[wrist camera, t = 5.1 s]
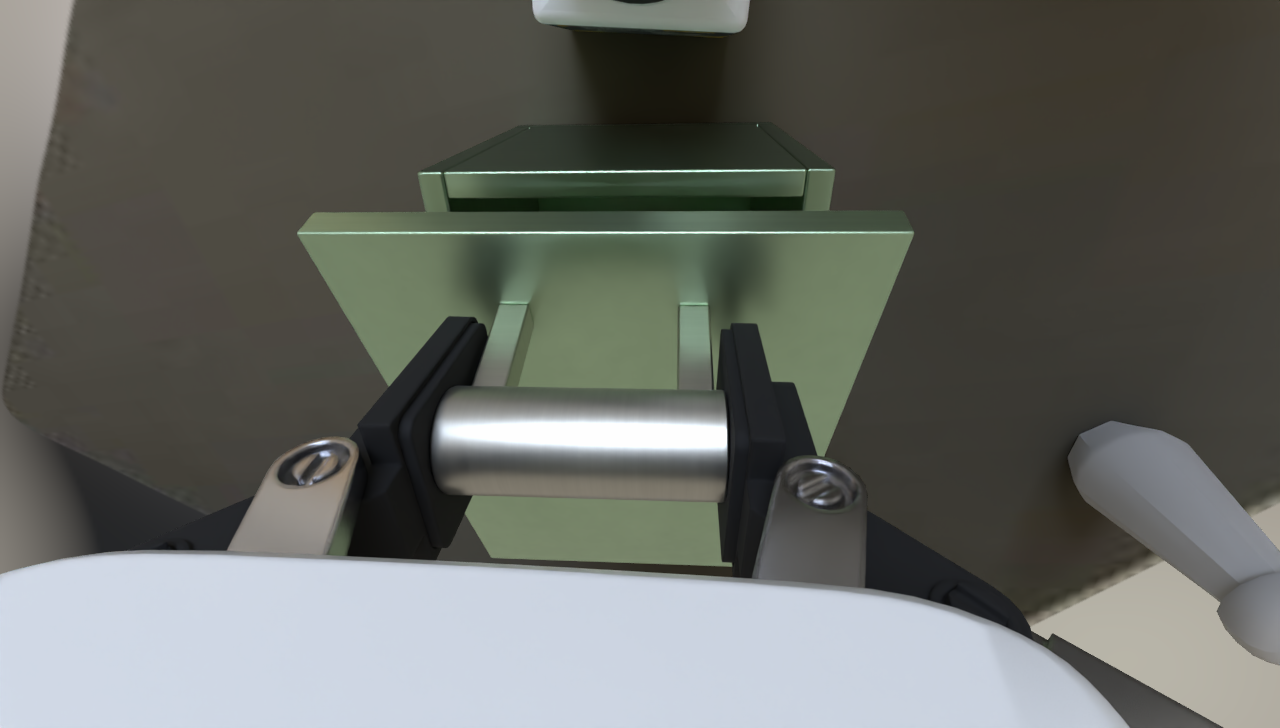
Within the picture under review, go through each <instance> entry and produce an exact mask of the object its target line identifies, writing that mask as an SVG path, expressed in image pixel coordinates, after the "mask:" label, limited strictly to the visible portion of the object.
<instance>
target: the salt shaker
mask: <svg viewBox="0 0 1280 728" xmlns="http://www.w3.org/2000/svg"><path fill="white" fill-rule="evenodd" d="M1067 458H1068V462H1069V466H1070V470H1071V474H1072V478H1073V481H1074V483H1075V485H1076V487H1077V489H1078V491H1079V493H1080V494H1081V496H1082V497H1083V499H1084V500H1085V502H1087V503H1088V504H1089V505H1091V506H1092V507H1093V508H1095V509H1096V510H1098V511H1099V512H1100V513H1102V514H1103V515H1104V516H1106V517H1107V518H1108V519H1110V520H1111V521H1112V522H1114V523H1115V524H1116V525H1118V526H1119V527H1120V528H1122V529H1123V530H1124V531H1126V532H1127V533H1128V534H1130V535H1131V536H1132V537H1134V538H1135V539H1136V540H1138V541H1139V542H1141V543H1142V544H1143V545H1145V546H1146V547H1147V548H1149V549H1150V550H1151V551H1153V552H1154V553H1155V554H1157V555H1158V556H1159V557H1161V558H1162V559H1163V560H1165V561H1166V562H1167V563H1169V564H1170V565H1172V566H1173V567H1174V568H1176V569H1177V570H1178V571H1179V572H1181V573H1182V574H1184V575H1185V576H1186V577H1188V578H1189V579H1190V580H1192V581H1193V582H1194V583H1196V584H1197V585H1198V586H1200V587H1201V588H1202V589H1204V590H1205V591H1206V592H1208V593H1209V594H1210V595H1212V596H1213V597H1214V598H1215V599H1217V600H1218V601H1219V602H1221V603H1220V606H1219V608H1218V610H1217V612H1218V615H1219V617H1220V619H1221V621H1222V623H1223V625H1224V627H1225V629H1226V630H1227V631H1228V632H1229V634H1230V635H1231V636H1232V637H1233V638H1234V639H1235V641H1236V642H1237V643H1239V644H1240V645H1241V646H1242V647H1243V648H1245V649H1246V650H1247V651H1248V652H1250V653H1251V654H1252V655H1253V656H1256V657H1258V658H1260V659H1262V660H1264V661H1267V662H1269V663H1273V664H1276V665H1280V551H1279V550H1278V549H1277V548H1276V547H1275V545H1274V544H1273V543H1272V542H1271V541H1270V539H1269V538H1268V537H1267V536H1266V535H1265V533H1264V532H1263V531H1262V530H1261V529H1260V528H1259V526H1257V524H1256V523H1255V522H1254V521H1253V519H1252V518H1251V517H1250V516H1249V515H1248V514H1247V512H1246V511H1245V510H1244V509H1243V508H1242V507H1241V505H1240V504H1239V503H1238V502H1237V501H1236V500H1235V498H1234V497H1233V496H1232V495H1231V494H1230V493H1229V491H1228V490H1227V489H1226V488H1225V487H1224V486H1223V484H1222V483H1221V482H1220V481H1219V480H1218V479H1217V477H1216V476H1215V475H1214V474H1213V473H1212V472H1211V470H1210V469H1209V468H1208V467H1207V466H1206V465H1205V463H1204V462H1203V461H1202V460H1201V459H1200V458H1199V456H1198V455H1197V454H1196V453H1195V452H1194V451H1193V449H1192V448H1191V447H1190V446H1189V445H1188V444H1187V443H1185V442H1183V441H1182V440H1180V439H1178V438H1176V437H1174V436H1171V435H1169V434H1167V433H1165V432H1163V431H1161V430H1156V429H1150V428H1145V427H1140V426H1134V425H1129V424H1124V423H1120V422H1116V421H1109V422H1107V423H1104V424H1102V425H1100V426H1098V427H1095V428H1093V429H1091V430H1088V431H1086V432H1084V433H1082V434H1079V436H1078V438H1077V440H1076V442H1075V444H1074V446H1073V447H1072V449H1071V451H1070V453H1069V455H1068V457H1067Z"/></svg>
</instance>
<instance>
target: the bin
mask: <svg viewBox="0 0 1280 728" xmlns="http://www.w3.org/2000/svg"><path fill="white" fill-rule="evenodd" d="M418 178H419V183H420V188H421V192H422V197H423V201H424V206H425V211H426V212H593V211H829V209H830V203H831V197H832V190H833V184H834V178H835V168H833V167H832V166H831V165H829V164H828V163H826V162H825V161H824V160H822V159H821V158H820V157H818V156H817V155H815V154H814V153H813V152H811V151H810V150H809V149H807V148H806V147H804V146H803V145H802V144H800V143H799V142H798V141H796V140H795V139H793V138H792V137H791V136H789V135H788V134H787V133H785V132H784V131H782V130H781V129H780V128H778V127H777V126H776V125H774V124H773V123H771V122H757V123H681V124H605V125H529V126H517V127H515V128H513V129H511V130H509V131H507V132H504V133H502V134H500V135H498V136H496V137H494V138H491V139H489V140H487V141H485V142H483V143H480V144H478V145H476V146H474V147H472V148H470V149H467V150H465V151H463V152H461V153H459V154H456V155H454V156H452V157H450V158H448V159H446V160H443V161H441V162H439V163H437V164H435V165H432V166H430V167H428V168H426V169H424V170H422V171H419V172H418Z"/></svg>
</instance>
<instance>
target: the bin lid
mask: <svg viewBox="0 0 1280 728" xmlns="http://www.w3.org/2000/svg"><path fill="white" fill-rule="evenodd" d="M297 234H298V237H299V238H300V240H301V242H302V243H303V245H304V247H305V248H306V250H307V252H308V253H309V255H310V257H311V258H312V260H313V262H314V263H315V265H316V267H317V268H318V270H319V272H320V273H321V275H322V277H323V278H324V280H325V282H326V283H327V285H328V287H329V288H330V290H331V292H332V293H333V295H334V297H335V298H336V300H337V302H338V303H339V305H340V307H341V308H342V310H343V312H344V313H345V315H346V317H347V318H348V320H349V322H350V323H351V325H352V326H353V328H354V330H355V331H356V333H357V335H358V336H359V338H360V340H361V341H362V343H363V345H364V346H365V348H366V350H367V351H368V353H369V355H370V356H371V358H372V360H373V361H374V363H375V365H376V366H377V368H378V370H379V371H380V373H381V375H382V376H383V378H384V380H385V381H386V383H387V385H388V386H390V385H391V384H392V383H393V381H394V380H395V379H396V378H397V377H398V376H399V374H400V373H401V372H402V371H403V370H404V368H405V367H406V366H407V365H408V364H409V362H410V361H411V360H412V359H413V358H414V356H415V355H416V354H417V353H418V352H419V350H420V349H421V348H422V347H423V346H424V344H425V343H426V342H427V341H428V340H429V338H430V337H431V336H432V335H433V334H434V332H435V331H436V330H437V329H438V328H439V326H440V325H441V324H442V323H443V322H444V320H445V319H446V318H447V317H449V316H460V317H475V318H476V319H477V321H478V323H483V324H484V325H485V327H486V330H487V335H488V338H487V341H486V344H485V347H484V350H483V353H482V356H481V359H480V362H479V365H478V368H477V371H476V374H475V377H474V380H473V383H472V386H454V387H451V388H450V389H448V390H447V391H446V392H445V393H444V395H443V396H442V398H441V400H440V402H439V404H438V406H437V409H436V412H435V415H434V419H433V424H432V429H431V438H430V460H431V468H432V473H433V477H434V480H435V482H436V484H437V486H438V488H439V489H440V490H441V491H442V492H443V493H445V494H448V495H473V496H472V499H471V501H470V503H469V505H468V507H467V509H466V512H465V515H466V516H467V518H468V520H469V521H470V523H471V525H472V526H473V528H474V530H475V531H476V533H477V535H478V536H479V538H480V540H481V541H482V543H483V545H484V546H485V548H486V550H487V551H488V553H489V555H490V556H491V558H510V559H537V560H565V561H592V562H620V563H648V564H675V565H703V566H730V567H732V563H728V562H722V560H721V548H720V533H719V519H718V505H717V503H722V502H724V501H725V499H726V496H727V490H728V481H729V461H730V432H729V413H728V403H727V397H726V394H725V392H724V391H723V390H716V384H717V372H718V359H719V347H720V335H721V329H730V326H731V323H756V324H757V325H758V329H759V333H760V337H761V341H762V345H763V349H764V353H765V357H766V361H767V365H768V369H769V373H770V377H771V381H772V382H793V383H794V384H795V386H796V389H797V392H798V395H799V398H800V401H801V405H802V408H803V411H804V414H805V417H806V420H807V423H808V427H809V430H810V433H811V436H812V439H813V442H814V445H815V449H816V452H817V455H818V456H823V457H824V455H825V453H826V450H827V448H828V445H829V443H830V441H831V438H832V436H833V433H834V431H835V428H836V426H837V423H838V421H839V418H840V416H841V413H842V411H843V408H844V406H845V404H846V401H847V399H848V396H849V394H850V391H851V389H852V386H853V384H854V381H855V379H856V376H857V374H858V371H859V369H860V366H861V364H862V362H863V359H864V357H865V354H866V352H867V349H868V347H869V344H870V342H871V339H872V337H873V334H874V332H875V329H876V327H877V324H878V322H879V320H880V317H881V315H882V312H883V310H884V307H885V305H886V302H887V300H888V297H889V295H890V292H891V290H892V287H893V285H894V283H895V280H896V278H897V275H898V273H899V270H900V268H901V265H902V263H903V260H904V258H905V255H906V253H907V250H908V248H909V245H910V243H911V241H912V238H913V236H914V230H913V228H912V226H911V224H910V222H909V220H908V219H907V217H906V215H905V213H904V211H901V210H894V211H593V212H316V213H313V214H312V215H311V216H310V218H309V219H308V220H307V221H306V222H305V224H304V225H303V226H302V227H301V228H300V230H299V231H298V232H297Z"/></svg>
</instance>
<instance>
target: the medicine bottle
mask: <svg viewBox="0 0 1280 728" xmlns="http://www.w3.org/2000/svg"><path fill="white" fill-rule="evenodd" d="M532 2H533V12H534V16H535V18H536V19H537V20H538V21H539V22H540V23H543V24H547V25H551V26H556V27H560V28H565V29H569V30H574V31H589V32H611V33H632V34H653V35H674V36H695V37H716V38H722V37H726V36H729V35H732V34H734V33H737V32H740V31H741V30H742V29H743V28H744V27H745V26H746V23H747V19H748V11H749V3H750V0H532Z"/></svg>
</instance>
